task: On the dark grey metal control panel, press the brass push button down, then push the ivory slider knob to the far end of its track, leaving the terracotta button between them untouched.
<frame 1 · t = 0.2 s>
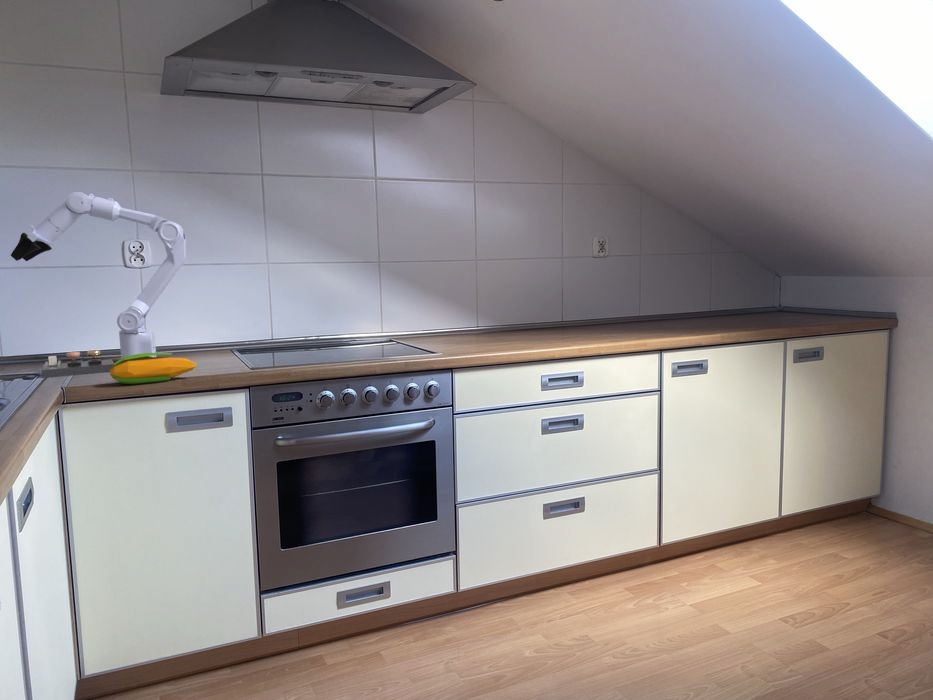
hand: (18, 258, 195), 31 cm above the countertop, tool tilted 45°, fingers open, 7 cm apart
panel: (79, 371, 190), on the countertop
brass button: (94, 354, 192), point 4 cm above the countertop, slide at 0.0 cm
slider knob: (52, 360, 189), point 3 cm above the countertop, slide at 0.0 cm
corn: (155, 382, 173), on the countertop
terracotta button: (73, 356, 189), point 4 cm above the countertop, slide at 0.0 cm
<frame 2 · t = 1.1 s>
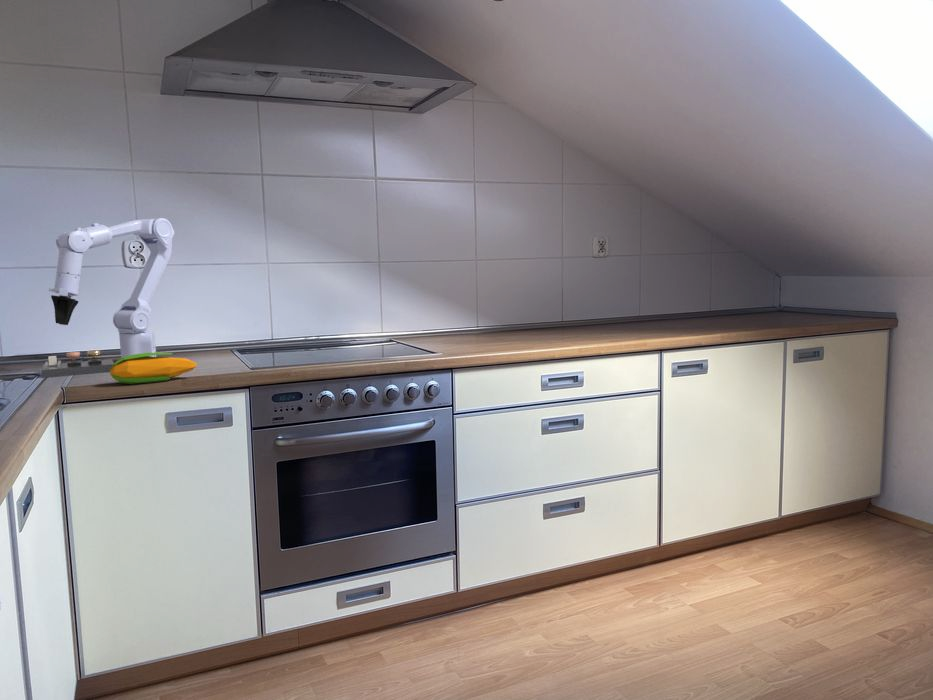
hand: (61, 324, 188), 13 cm above the countertop, tool pointing down, fingers open, 7 cm apart
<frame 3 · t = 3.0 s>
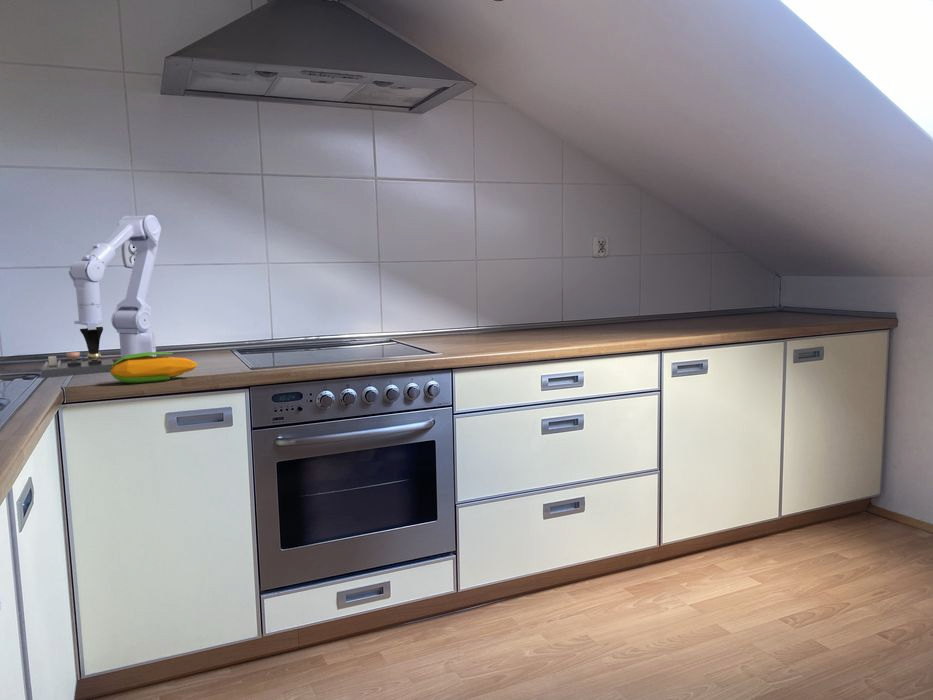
hand: (93, 353, 192), 5 cm above the countertop, tool pointing down, fingers closed, pressing on brass button
brass button: (94, 357, 192), point 4 cm above the countertop, slide at 0.7 cm, touching gripper
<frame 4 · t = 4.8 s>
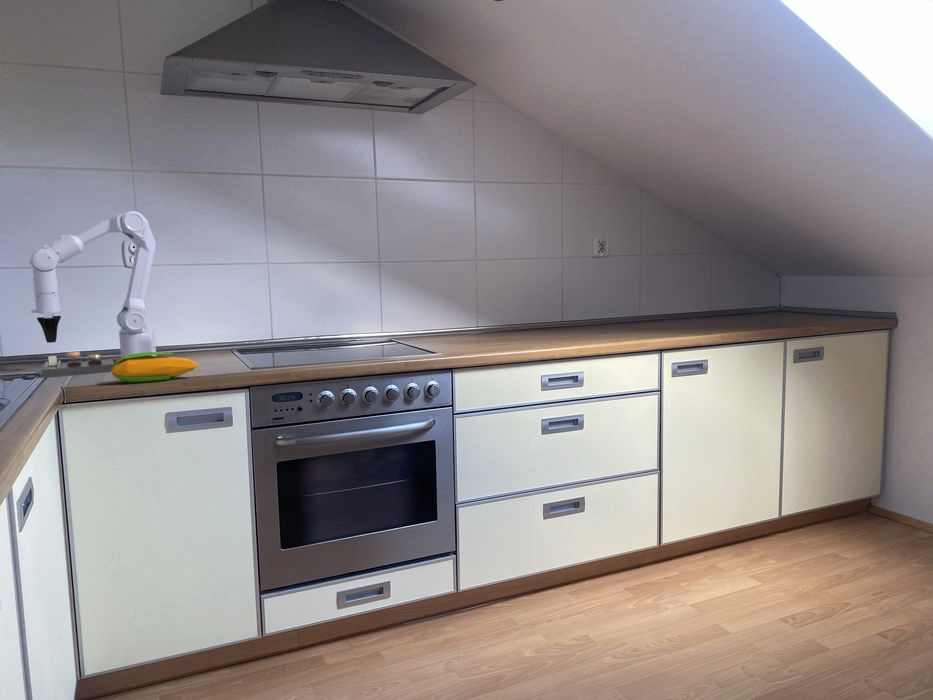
hand: (51, 342, 193), 8 cm above the countertop, tool pointing down, fingers closed
brass button: (94, 358, 192), point 3 cm above the countertop, slide at 1.1 cm
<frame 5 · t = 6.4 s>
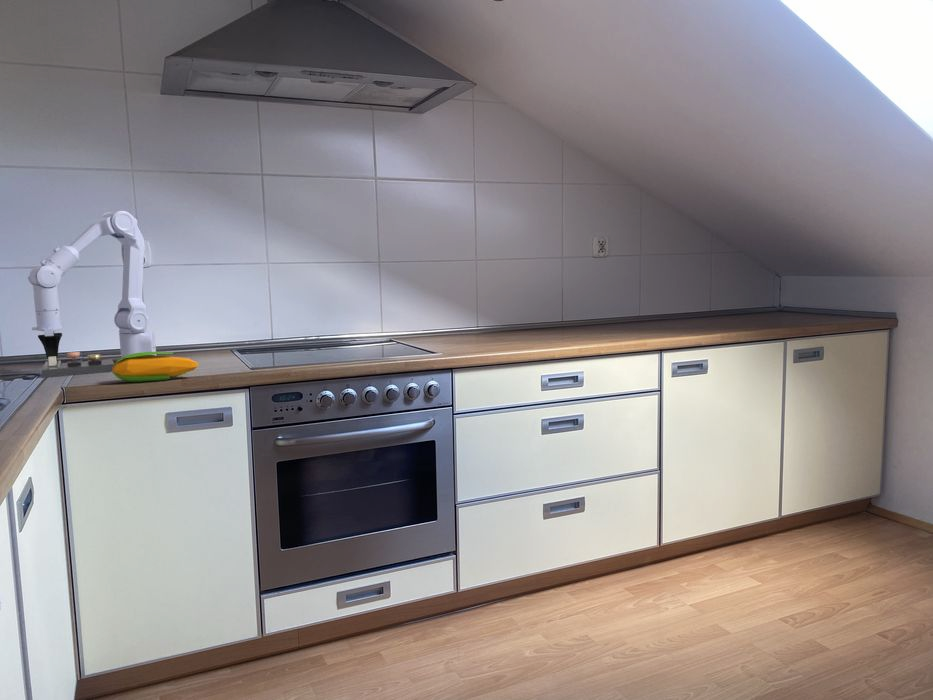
hand: (52, 360, 190), 3 cm above the countertop, tool pointing down, fingers closed
slider knob: (52, 361, 188), point 3 cm above the countertop, slide at 1.1 cm, touching gripper
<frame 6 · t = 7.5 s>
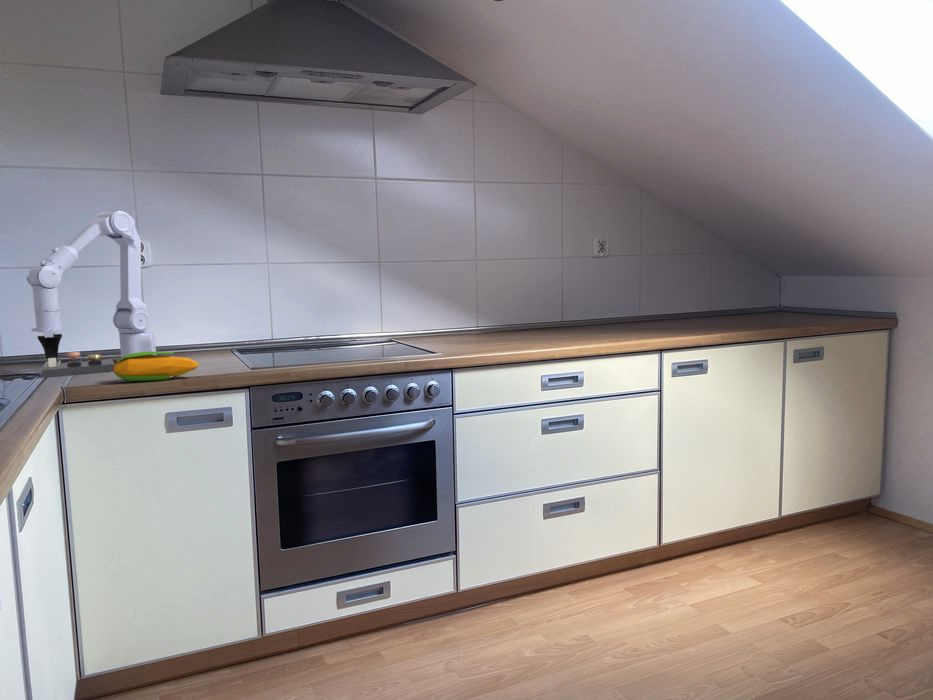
hand: (52, 361, 187), 3 cm above the countertop, tool pointing down, fingers closed
slider knob: (52, 362, 185), point 3 cm above the countertop, slide at 4.1 cm, touching gripper
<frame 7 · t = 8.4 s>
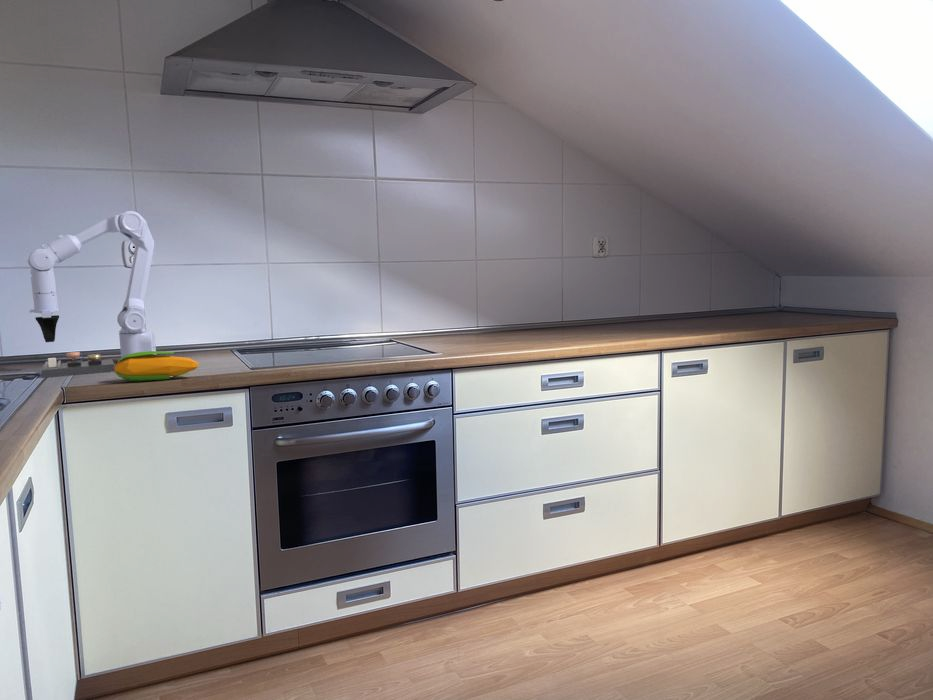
hand: (50, 341, 193), 8 cm above the countertop, tool pointing down, fingers closed
slider knob: (52, 362, 185), point 3 cm above the countertop, slide at 4.1 cm
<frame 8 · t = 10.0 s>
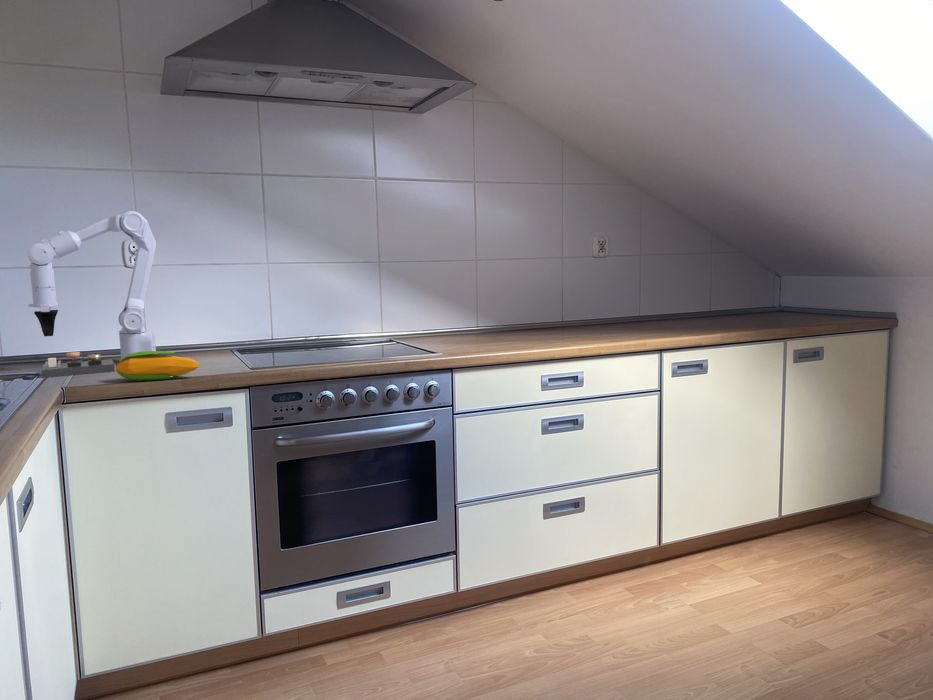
hand: (48, 336, 195), 9 cm above the countertop, tool pointing down, fingers closed
at the end: brass button slide at 1.1 cm; slider knob slide at 4.1 cm; terracotta button slide at 0.0 cm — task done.
